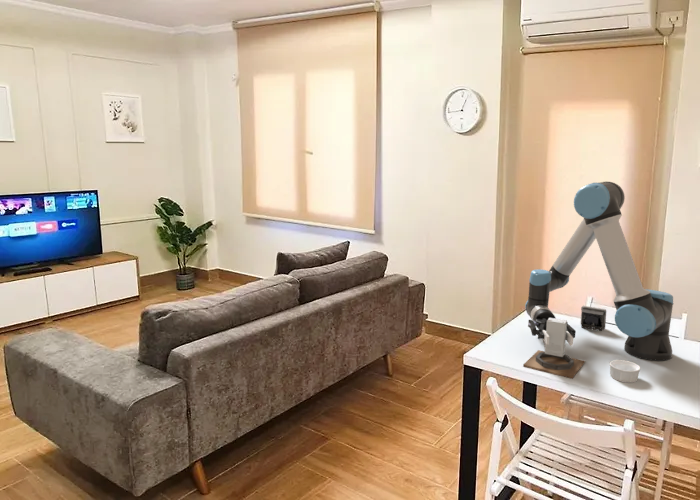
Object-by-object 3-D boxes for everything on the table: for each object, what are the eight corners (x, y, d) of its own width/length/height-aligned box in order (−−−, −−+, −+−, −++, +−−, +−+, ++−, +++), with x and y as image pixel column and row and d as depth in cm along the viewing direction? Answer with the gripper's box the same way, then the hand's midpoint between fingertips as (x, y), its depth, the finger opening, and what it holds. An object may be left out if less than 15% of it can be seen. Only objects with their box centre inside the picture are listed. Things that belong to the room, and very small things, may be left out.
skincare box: (564, 353, 184) (568, 319, 181) (562, 358, 180) (566, 323, 178) (546, 349, 187) (549, 316, 184) (543, 354, 183) (546, 320, 181)
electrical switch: (605, 329, 219) (607, 307, 216) (603, 333, 215) (605, 312, 212) (580, 324, 224) (582, 304, 221) (578, 329, 220) (579, 308, 217)
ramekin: (625, 385, 168) (626, 372, 168) (602, 374, 176) (603, 362, 176) (645, 381, 172) (646, 368, 171) (621, 370, 180) (622, 358, 179)
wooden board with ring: (584, 362, 186) (585, 356, 185) (572, 378, 173) (573, 372, 173) (538, 351, 195) (538, 346, 195) (523, 366, 182) (523, 360, 182)
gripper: (570, 329, 199) (590, 353, 177) (515, 326, 201) (528, 350, 179) (572, 309, 198) (592, 332, 175) (516, 307, 200) (529, 329, 178)
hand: (559, 341), depth 177 cm, fingers closed on skincare box, 7 cm apart
